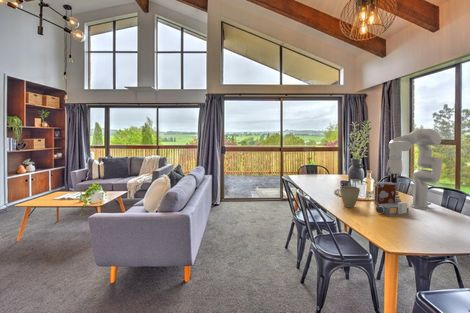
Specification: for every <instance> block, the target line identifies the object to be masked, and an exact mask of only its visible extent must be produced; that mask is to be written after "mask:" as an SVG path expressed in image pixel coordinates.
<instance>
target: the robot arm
mask: <svg viewBox="0 0 470 313" xmlns="http://www.w3.org/2000/svg"><path fill="white" fill-rule="evenodd" d="M441 142H442V137H441V135H440V134H439V133H438V132H437V131H435V130H434V129H433V128H418V129H414V130H413V131H411V132H409V133H408V134H405V135H401V136H397V137H395V138H393V139H391V140H390V141H389V143H388V148H389V151H388V152H389V153H388V154H389V155H388V160H387V163H386V171H385V172H386V173H387V176H390V179H391V180H390V181H391V182H390V183H396V184H397V181H398V178H399V176H400V175H401V174H402V172H403V161H402V158H403V157H402V152H407V151H410V150H411V148H412V145H417V148H418V150H419V151H418V157H417V162H416V163H417V167H418V168H419V169H415V170H414V171H413V172H412V177H413V178H412V179H413V192H412V194H413V195H412V203H411V204H410V205H409V206H410V207H411V208H414V209H417V210H418V209H419V210H429V209H430V207H429V206H431V205H432V202H428V198H429V197H428V193H429V185H428V184H427V183H432V184H437V183H439V182H440V179H441V174H442V168H443V160H442V158H440V157H437V156H433V150H432V148H431V146H439V145H440V144H441ZM421 168H422V169H421Z"/></svg>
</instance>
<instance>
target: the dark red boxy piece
mask: <svg viewBox="0 0 470 313" xmlns="http://www.w3.org/2000/svg"><path fill="white" fill-rule="evenodd" d="M400 202H402V199H401V198H400V196H399V191H398V190H397V183H391V182H390V181H389V182H387V181H386V182H385V181H383V182H381V181H376V182H375V184H374V204H375V205H376V206H377V204H387V203H400Z"/></svg>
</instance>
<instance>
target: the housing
mask: <svg viewBox="0 0 470 313" xmlns="http://www.w3.org/2000/svg"><path fill="white" fill-rule="evenodd" d="M375 211H376V213H378V214H381V215H384V216H389V217H396V216H405V215H406V216H407V215H409V207H407V213H403V214H398V203H387V204H377V205H376V207H375Z"/></svg>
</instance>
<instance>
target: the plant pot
mask: <svg viewBox="0 0 470 313" xmlns="http://www.w3.org/2000/svg"><path fill="white" fill-rule="evenodd" d="M360 190H361V188H360V187H357V186H351V185H342V186H340V195H341V200H342V203H343V206H344V207H345V208H349V209H350V208H351V209H352V208H354V207H355V206H356V203H357V201H358V199H359V195H360Z"/></svg>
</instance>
